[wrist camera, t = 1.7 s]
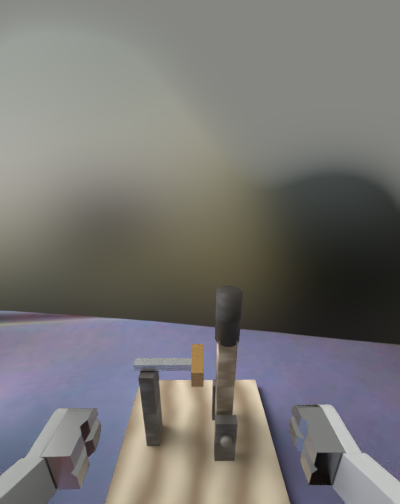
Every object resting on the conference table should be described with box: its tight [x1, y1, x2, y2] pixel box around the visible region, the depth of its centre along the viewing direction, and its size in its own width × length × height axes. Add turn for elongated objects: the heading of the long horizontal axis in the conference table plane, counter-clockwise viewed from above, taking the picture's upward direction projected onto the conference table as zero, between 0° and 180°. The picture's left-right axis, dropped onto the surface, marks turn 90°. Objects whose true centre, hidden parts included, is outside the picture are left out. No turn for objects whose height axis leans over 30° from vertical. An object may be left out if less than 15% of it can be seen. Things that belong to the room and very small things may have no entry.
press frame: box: [105, 371, 290, 504], centre depth 33 cm, size 24×20×16 cm
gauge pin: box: [134, 344, 204, 387], centre depth 30 cm, size 10×5×2 cm, turn 90°
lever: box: [215, 286, 243, 415], centre depth 30 cm, size 3×3×22 cm
